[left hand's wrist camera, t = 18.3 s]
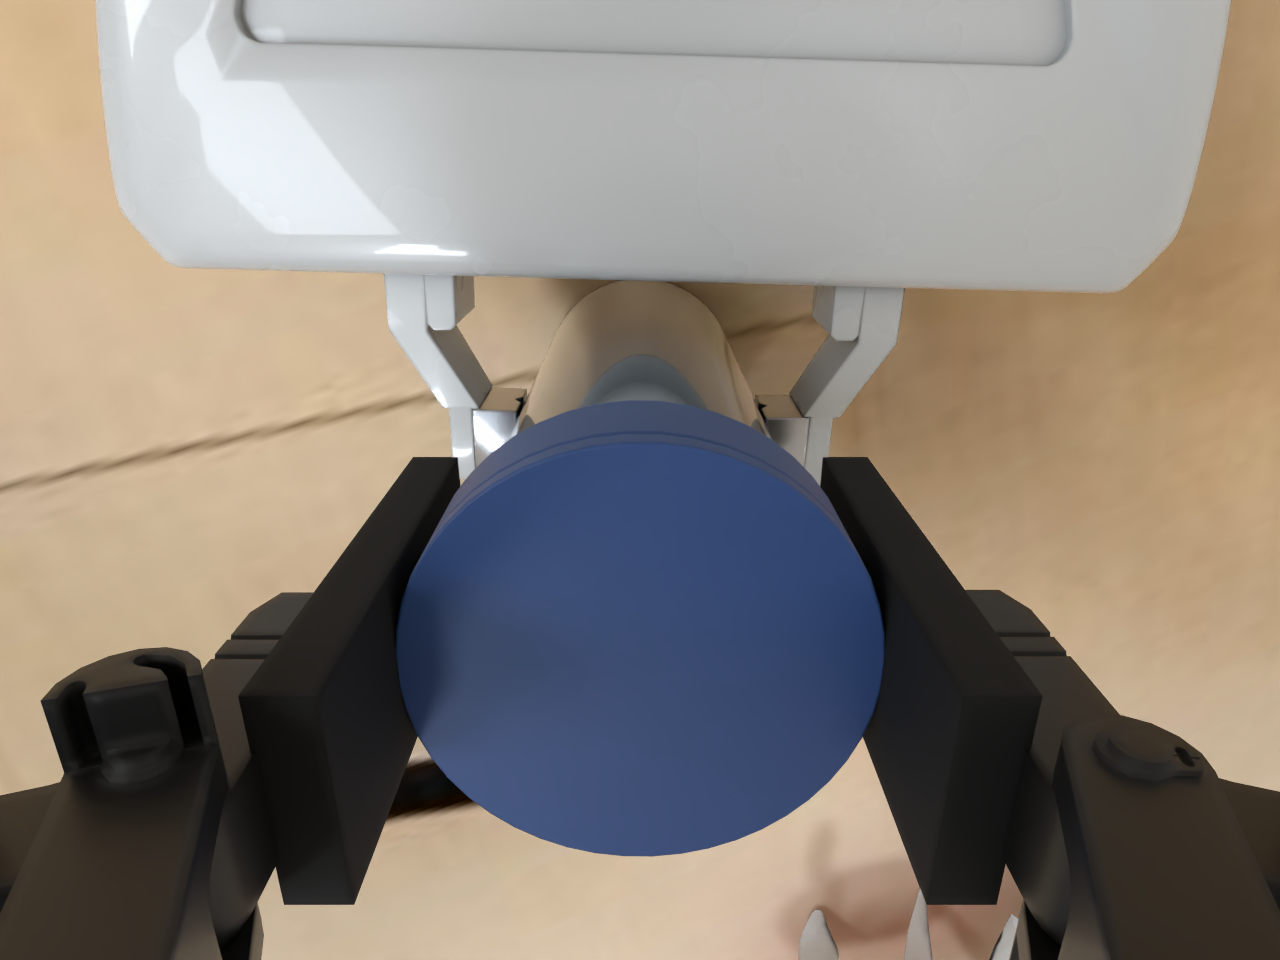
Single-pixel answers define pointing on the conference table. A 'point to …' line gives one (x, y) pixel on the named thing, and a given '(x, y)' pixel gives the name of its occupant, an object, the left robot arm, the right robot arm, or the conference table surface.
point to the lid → (640, 632)
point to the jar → (640, 356)
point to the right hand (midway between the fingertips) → (641, 476)
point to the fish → (823, 955)
